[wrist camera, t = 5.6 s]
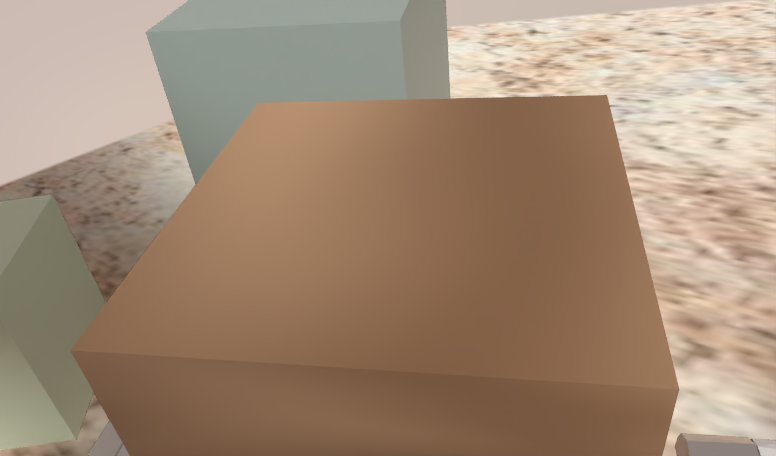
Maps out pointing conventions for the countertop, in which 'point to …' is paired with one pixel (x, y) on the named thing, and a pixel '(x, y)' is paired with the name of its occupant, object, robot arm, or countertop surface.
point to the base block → (292, 59)
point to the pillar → (395, 291)
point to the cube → (42, 324)
